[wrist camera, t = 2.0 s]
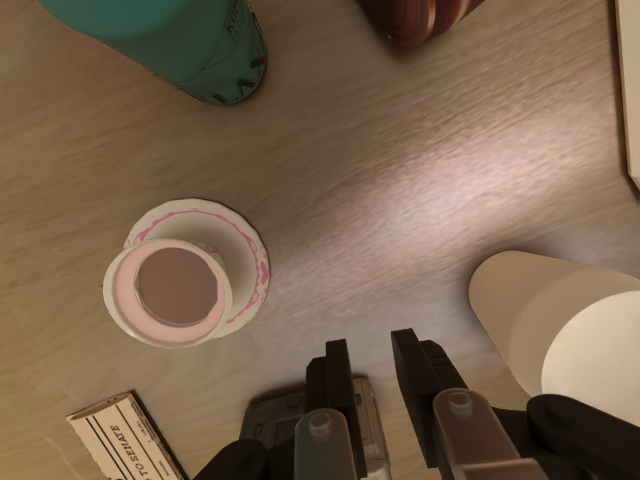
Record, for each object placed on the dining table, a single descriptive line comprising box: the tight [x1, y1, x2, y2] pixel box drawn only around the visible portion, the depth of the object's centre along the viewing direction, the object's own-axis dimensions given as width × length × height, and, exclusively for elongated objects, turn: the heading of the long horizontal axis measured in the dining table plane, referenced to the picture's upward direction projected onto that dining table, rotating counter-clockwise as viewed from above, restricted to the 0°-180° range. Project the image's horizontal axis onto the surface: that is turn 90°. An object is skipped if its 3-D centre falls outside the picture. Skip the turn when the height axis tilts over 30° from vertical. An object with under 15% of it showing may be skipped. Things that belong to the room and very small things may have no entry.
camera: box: [239, 377, 392, 480], centre depth 28 cm, size 11×6×10 cm, turn 103°
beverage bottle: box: [38, 0, 267, 106], centre depth 16 cm, size 6×7×20 cm
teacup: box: [98, 198, 270, 349], centre depth 27 cm, size 12×12×6 cm
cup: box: [468, 251, 640, 427], centre depth 24 cm, size 9×9×12 cm
